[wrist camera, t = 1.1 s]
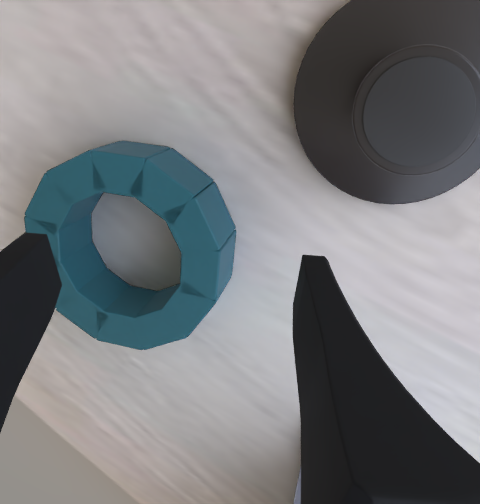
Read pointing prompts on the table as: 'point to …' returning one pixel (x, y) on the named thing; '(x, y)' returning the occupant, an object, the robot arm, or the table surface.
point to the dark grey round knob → (393, 98)
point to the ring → (163, 204)
